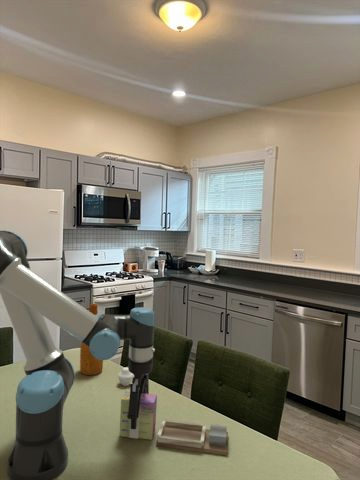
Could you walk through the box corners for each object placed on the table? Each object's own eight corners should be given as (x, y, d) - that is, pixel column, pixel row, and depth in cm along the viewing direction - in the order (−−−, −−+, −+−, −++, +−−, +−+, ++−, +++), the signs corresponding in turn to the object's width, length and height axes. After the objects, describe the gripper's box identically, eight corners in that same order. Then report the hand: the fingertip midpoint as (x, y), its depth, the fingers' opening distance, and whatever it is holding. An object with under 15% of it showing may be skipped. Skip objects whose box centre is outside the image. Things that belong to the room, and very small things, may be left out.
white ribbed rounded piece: (130, 388, 143) (131, 371, 143) (115, 386, 144) (116, 369, 144) (134, 381, 149) (135, 365, 149) (120, 380, 150) (121, 363, 150)
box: (155, 429, 115) (157, 393, 115) (152, 440, 110) (154, 402, 109) (123, 426, 116) (125, 390, 116) (119, 436, 111) (120, 399, 110)
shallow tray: (227, 455, 104) (227, 441, 104) (156, 445, 107) (156, 432, 107) (227, 435, 114) (228, 422, 113) (162, 427, 117) (163, 414, 117)
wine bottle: (107, 370, 159) (109, 303, 157) (91, 378, 150) (93, 307, 149) (91, 365, 164) (93, 300, 163) (74, 372, 156) (77, 303, 154)
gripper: (144, 373, 101) (140, 451, 102) (159, 347, 122) (156, 412, 123) (118, 370, 102) (115, 448, 103) (138, 345, 123) (135, 410, 124)
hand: (138, 428), depth 113 cm, fingers open, 9 cm apart
